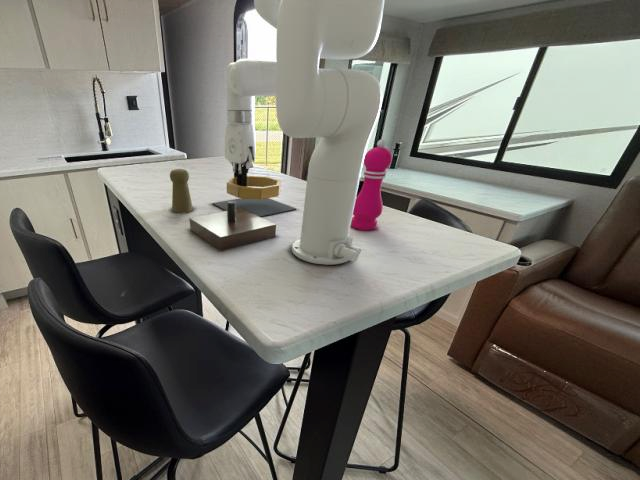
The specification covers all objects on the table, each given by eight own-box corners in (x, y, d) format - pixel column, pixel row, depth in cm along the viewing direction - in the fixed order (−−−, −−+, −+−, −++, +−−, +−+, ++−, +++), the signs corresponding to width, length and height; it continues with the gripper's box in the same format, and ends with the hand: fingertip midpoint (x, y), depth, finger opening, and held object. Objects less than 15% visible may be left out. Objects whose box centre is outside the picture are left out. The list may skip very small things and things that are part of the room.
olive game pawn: (195, 206, 95) (192, 167, 89) (190, 212, 90) (187, 171, 84) (175, 206, 96) (171, 167, 90) (169, 212, 91) (164, 171, 85)
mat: (296, 209, 94) (296, 208, 93) (245, 220, 85) (245, 219, 85) (259, 196, 106) (259, 195, 106) (212, 204, 98) (212, 203, 98)
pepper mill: (382, 226, 82) (404, 139, 71) (370, 233, 77) (392, 142, 67) (356, 219, 86) (373, 137, 75) (343, 226, 82) (359, 139, 71)
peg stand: (275, 236, 75) (277, 204, 71) (220, 250, 68) (219, 216, 64) (240, 219, 86) (240, 190, 82) (190, 229, 79) (187, 199, 75)
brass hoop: (290, 194, 92) (291, 183, 90) (247, 201, 85) (247, 190, 83) (259, 183, 102) (259, 173, 101) (219, 189, 95) (218, 179, 94)
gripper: (215, 116, 92) (217, 182, 102) (245, 120, 81) (244, 193, 91) (237, 116, 95) (237, 180, 105) (268, 119, 85) (265, 190, 95)
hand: (240, 186), depth 98 cm, fingers closed on brass hoop, 1 cm apart
